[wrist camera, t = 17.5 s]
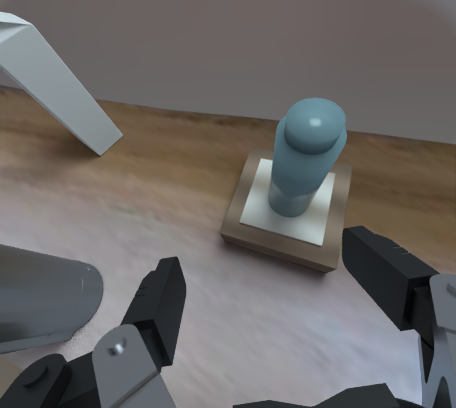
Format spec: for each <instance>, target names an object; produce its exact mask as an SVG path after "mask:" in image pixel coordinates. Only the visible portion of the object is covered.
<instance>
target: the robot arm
mask: <svg viewBox="0 0 456 408" xmlns="http://www.w3.org/2000/svg"><path fill="white" fill-rule="evenodd" d="M342 259H343V263H344V265H345V267H346V269H347V270H348V271H349V272H350V274H351V275H352V276H353V277H354V278H355V279H356V281H357V282H358V283H359V284H360V285H361V286H362V287H363V289H364V290H365V291H366V292H367V293H368V294H369V295H370V297H371V298H372V299H373V300H374V301H375V302H376V304H377V305H378V306H379V307H380V308H381V309H382V310H383V312H384V313H385V314H386V315H387V316H388V317H389V318H390V320H391V321H392V322H393V323H394V324H395V325H396V327H397V328H398V329H399V330H400V331H405V330H411V329H415V330H416V331H417V332H418V333H419V336H418V348H419V360H420V371H421V382H422V406H420V405H418V404H415V403H412V402H409V401H406V400H402V399H398V398H395V397H394V396H393V394H392V393H391V391H390V390H389V388H388V386H387V385H386V383H382V384H375V385H369V386H362V387H355V388H348V389H346V390H344V391H342V392H340V393H338V394H336V395H334V396H333V397H331V398H329V399H327V400H325V401H323V402H321V403H320V404H318V405H316V406H312V407H308V406H302V405H296V404H290V403H284V402H278V401H272V400H267V401H260V402H253V403H246V404H240V405H233V408H456V275H454V274H440V273H439V272H437V271H436V270H434V269H433V268H432V267H430V266H429V265H427V264H426V263H424V262H423V261H421V260H420V259H418V258H417V257H415V256H414V255H412V254H411V253H408V251H407V250H405V249H404V248H402V247H400V246H399V245H398V244H396V243H395V242H393V241H392V240H390V239H388V238H386V237H383V236H380V235H378V234H373V233H372V232H371V231H369V230H368V229H366V228H365V227H364V226H356V227H350V228H345V229H344V230H343V234H342ZM102 293H103V281H102V277H101V275H100V273H99V271H98V270H97V269H96V268H95V267H94V266H92V265H90V264H87V263H83V262H80V261H76V260H70V259H66V258H61V257H56V256H52V255H47V254H43V253H38V252H34V251H29V250H25V249H20V248H15V247H11V246H6V245H2V244H0V354H5V353H9V352H14V351H19V350H24V349H29V348H34V347H38V346H43V345H48V344H53V343H58V342H63V341H67V340H70V339H71V337H72V335H73V334H74V332H75V331H76V330H78V329H79V328H81V327H82V326H83V325H85V324H86V323H87V322H88V321H89V320H90V319H91V317H92V316H93V315H94V313H95V312H96V310H97V308H98V306H99V304H100V301H101V298H102ZM185 298H186V283H185V279H184V276H183V273H182V269H181V266H180V263H179V260H178V258H177V257H170V258H164V259H161V260H160V261H159V263H158V266H157V268H156V270H155V271H151V272H150V273H149V274H148V275H147V276H146V277H145V278H144V279H143V280H142V282H141V284H140V286H139V288H138V290H137V292H136V294H135V298H133V300H132V302H131V304H130V306H129V308H128V310H127V312H126V314H125V316H124V318H123V320H122V322H121V324H120V326H118V327H116V328H114V329H112V330H111V331H109V332H108V333H107V334H105V335H104V336H103V337H102V338H101V339H100V340H99V342H98V343H97V345H96V346H95V348H94V350H93V351H92V352H90V353H87V354H85V355H83V356H81V357H78V358H76V359H74V360H71V361H69V362H67V361H66V360H65V358H64V357H63V355H61V354H51V355H47V356H45V357H43V358H41V359H39V360H37V361H36V362H34V363H33V364H31V365H30V366H29V367H28V368H26V369H25V370H24V371H23V372H22V373H21V374H20V375H19V376H18V377H17V378H16V379H15V380H14V382H13V383H12V384H11V386H10V387H9V388H8V390H7V391H6V392H5V394H4V395H3V396H2V397H1V399H0V408H176V406H175V404H174V402H173V400H172V398H171V396H170V394H169V392H168V390H167V388H166V385H165V383H164V381H163V379H162V377H161V375H160V373H161V368H162V367H164V366H170V365H172V363H173V358H174V353H175V348H176V343H177V338H178V333H179V328H180V323H181V318H182V313H183V308H184V303H185Z"/></svg>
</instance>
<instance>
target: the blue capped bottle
mask: <svg viewBox="0 0 456 408" xmlns="http://www.w3.org/2000/svg"><path fill="white" fill-rule="evenodd" d="M345 124H346V118H345V114H344V112H343V111H342V109H341V108H340V107H339V106H338V105H337V104H335V103H333V102H332V101H329V100H326V99H322V98H309V99H304V100H301V101H299V102H297V103H295V104H294V105H293V106H292V107H291V108H290V109H289V111H288V113H287V115H286V116H285V117H284V118H283V119H282V120H281V121H280V122H279V124H278V126H277V130H276V137H275V145H274V153H273V162H272V170H271V178H270V186H269V194H268V201H269V204H270V206H271V208H272V209H273V210H274V211H275V212H276V213H277V214H279V215H281V216H284V217H296V216H299V215H301V214H303V213H304V212H305V211H306V210H307V208H308V207H309V205H310V203H311V202H312V200H313V198H314V196H315V195H316V193H317V191H318V190H319V188H320V186H321V185H322V183H323V181H324V179H325V178H326V176H327V174H328V173H329V171H330V169H331V168H332V166H333V164H334V162H335V161H336V159H337V157H338V156H339V154H340V152H341V151H342V149H343V147H344V145H345V143H346V139H347V133H346V129H345Z"/></svg>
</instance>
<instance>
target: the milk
mask: <svg viewBox="0 0 456 408" xmlns="http://www.w3.org/2000/svg"><path fill="white" fill-rule="evenodd" d="M0 68H1V69H2V70H3V71H4V72H5V73H6V74H7V75H8V76H10V77H11V78H12V79H13V80H14V81H15V82H16V83H17V84H19V85H20V86H21V87H22V88H23V89H24V90H25V91H26V92H27V93H28V94H30V95H31V96H32V97H33V98H34V99H35V100H36V101H37V102H38V103H40V104H41V105H42V106H43V107H44V108H45V109H46V110H47V111H48V112H49V113H51V114H52V115H53V116H54V117H55V118H56V119H57V120H58V121H59V122H61V123H62V124H63V125H64V126H65V127H66V128H67V129H68V130H69V131H71V132H72V133H73V134H74V135H75V136H76V137H77V138H78V139H79V140H81V141H82V142H83V143H84V144H85V145H87V146H88V147H89V148H90V149H92V150H93V151H94V152H96V153H97V154H98V155H99V156H101V155H102V154H103V153H105V152H106V151H107V150H108V149H109V148H110V147H111V146H112V145H113V144H115V143H116V142H117V141H118V140H119V139H120V138H121V137H122V136H123V134H122V133H121V132H120V131H119V130H118V128H117V127H116V126H115V125H114V123H113V122H112V121H111V120H110V119H109V117H108V116H107V115H106V114H105V112H104V111H103V110H102V109H101V108H100V106H99V105H98V104H97V103H96V101H95V100H94V99H93V98H92V97H91V95H90V94H89V93H88V92H87V90H86V89H85V88H84V87H83V86H82V84H81V83H80V82H79V81H78V80H77V78H76V77H75V76H74V75H73V73H72V72H71V71H70V70H69V68H68V67H67V66H66V65H65V64H64V62H63V61H62V60H61V59H60V57H59V56H58V55H57V54H56V53H55V52H54V50H53V49H52V48H51V46H50V45H49V44H48V43H47V42H46V40H45V39H44V38H43V37H42V35H41V34H40V33H39V32H38V31H37V29H36V28H35V27H34V26H33V25H32V24H31V23H29V22H27V21H24V20H22V19H21V18H19V17H17V16H15V15H13V14H11V13H3V12H0Z"/></svg>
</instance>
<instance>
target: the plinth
mask: <svg viewBox="0 0 456 408" xmlns="http://www.w3.org/2000/svg"><path fill="white" fill-rule="evenodd" d="M273 153H274V151H272V150H267V149H262V148H257V147H251V150H250V153H249V155H248V158H247V161H246V164H245V166H244V169H243V172H242V174H241V177H240V180H239V182H238V185H237V188H236V191H235V193H234V196H233V199H232V201H231V204H230V207H229V210H228V212H227V215H226V218H225V220H224V223H223V226H222V228H221V231H220V234H221V236H222V238H223V239H224V241H226V242H229V243H233V244H236V245H239V246H242V247H245V248H248V249H252V250H255V251H258V252H261V253H264V254H267V255H271V256H274V257H277V258H280V259H283V260H286V261H290V262H293V263H296V264H299V265H302V266H305V267H309V268H312V269H315V270H318V271H321V272H324V273H328V272H331V271H333V270H335V269H337V264H338V258H339V251H340V245H341V238H342V232H343V225H344V219H345V212H346V206H347V199H348V193H349V186H350V180H351V173H352V167H353V166H350V165H345V164H340V163H334V164H333V166H332V168H331V169H330V171H329V173H328V174H327V176H326V178H325V179H324V181H323V183H322V185H321V186H320V188H319V190H318V191H317V193H316V195H315V196H314V198H313V200H312V202H311V203H310V205H309V207H308V208H307V210H306V211H305V212H304V213H303V214H301V215H299V216H296V217H284V216H281V215H279V214H277V213H276V212H275V211H274V210H273V209H272V208H271V206H270V204H269V201H268V194H269V186H270V178H271V170H272V162H273Z"/></svg>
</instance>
